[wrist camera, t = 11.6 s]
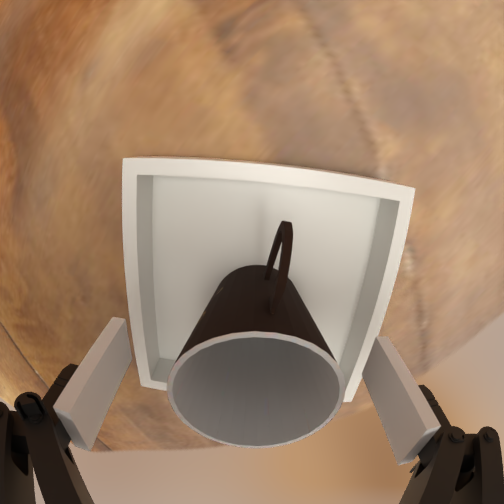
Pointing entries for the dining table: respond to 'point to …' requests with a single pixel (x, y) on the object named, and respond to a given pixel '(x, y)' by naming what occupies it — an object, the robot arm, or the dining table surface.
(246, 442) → the coffee mug
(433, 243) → the dining table surface
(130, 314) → the white tray
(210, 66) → the dining table surface
